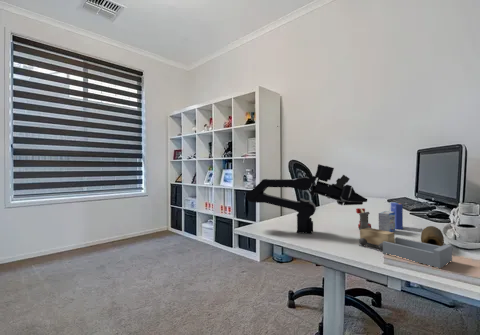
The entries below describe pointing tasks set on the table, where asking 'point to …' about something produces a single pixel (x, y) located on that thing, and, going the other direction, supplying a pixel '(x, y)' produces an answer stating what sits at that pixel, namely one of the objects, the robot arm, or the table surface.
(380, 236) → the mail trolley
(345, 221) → the table surface
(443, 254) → the tray
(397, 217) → the walkman
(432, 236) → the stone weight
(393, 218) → the medicine box
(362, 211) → the toy fire truck
